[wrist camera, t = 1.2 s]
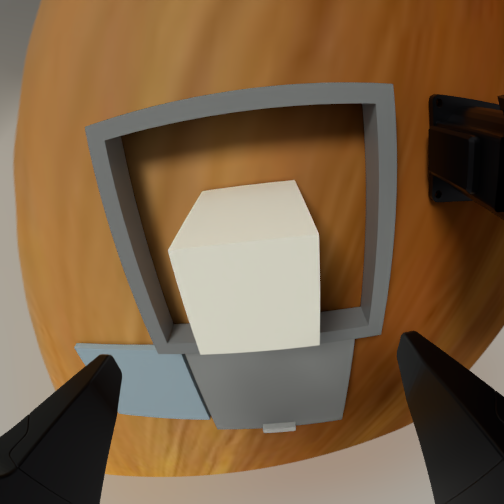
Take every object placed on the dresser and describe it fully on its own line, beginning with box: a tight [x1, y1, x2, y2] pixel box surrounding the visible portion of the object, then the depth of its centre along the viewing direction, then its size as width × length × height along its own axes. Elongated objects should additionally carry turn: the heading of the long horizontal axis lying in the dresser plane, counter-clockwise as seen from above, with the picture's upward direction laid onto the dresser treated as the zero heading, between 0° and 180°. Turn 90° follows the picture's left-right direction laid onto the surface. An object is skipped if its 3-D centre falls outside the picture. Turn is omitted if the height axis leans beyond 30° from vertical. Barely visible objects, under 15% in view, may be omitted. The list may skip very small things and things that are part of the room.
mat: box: [74, 343, 211, 420], centre depth 24 cm, size 10×10×1 cm
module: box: [168, 180, 320, 355], centre depth 14 cm, size 5×5×7 cm
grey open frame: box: [85, 83, 397, 433], centre depth 19 cm, size 15×27×2 cm, turn 7°
